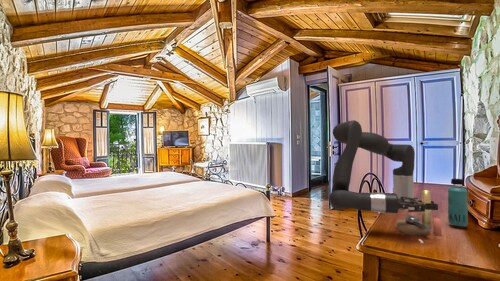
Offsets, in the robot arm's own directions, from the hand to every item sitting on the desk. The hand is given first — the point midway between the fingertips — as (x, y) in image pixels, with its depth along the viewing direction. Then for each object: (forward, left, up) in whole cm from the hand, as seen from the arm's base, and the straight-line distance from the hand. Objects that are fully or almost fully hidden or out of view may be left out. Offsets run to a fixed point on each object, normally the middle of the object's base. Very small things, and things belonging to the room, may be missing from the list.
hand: (435, 205), depth 93 cm
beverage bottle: (-11, +17, -13) cm, 24 cm away
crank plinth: (-9, -3, -13) cm, 16 cm away
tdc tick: (+1, -6, -13) cm, 14 cm away
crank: (-6, -3, -9) cm, 11 cm away
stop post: (-4, +4, -13) cm, 14 cm away
